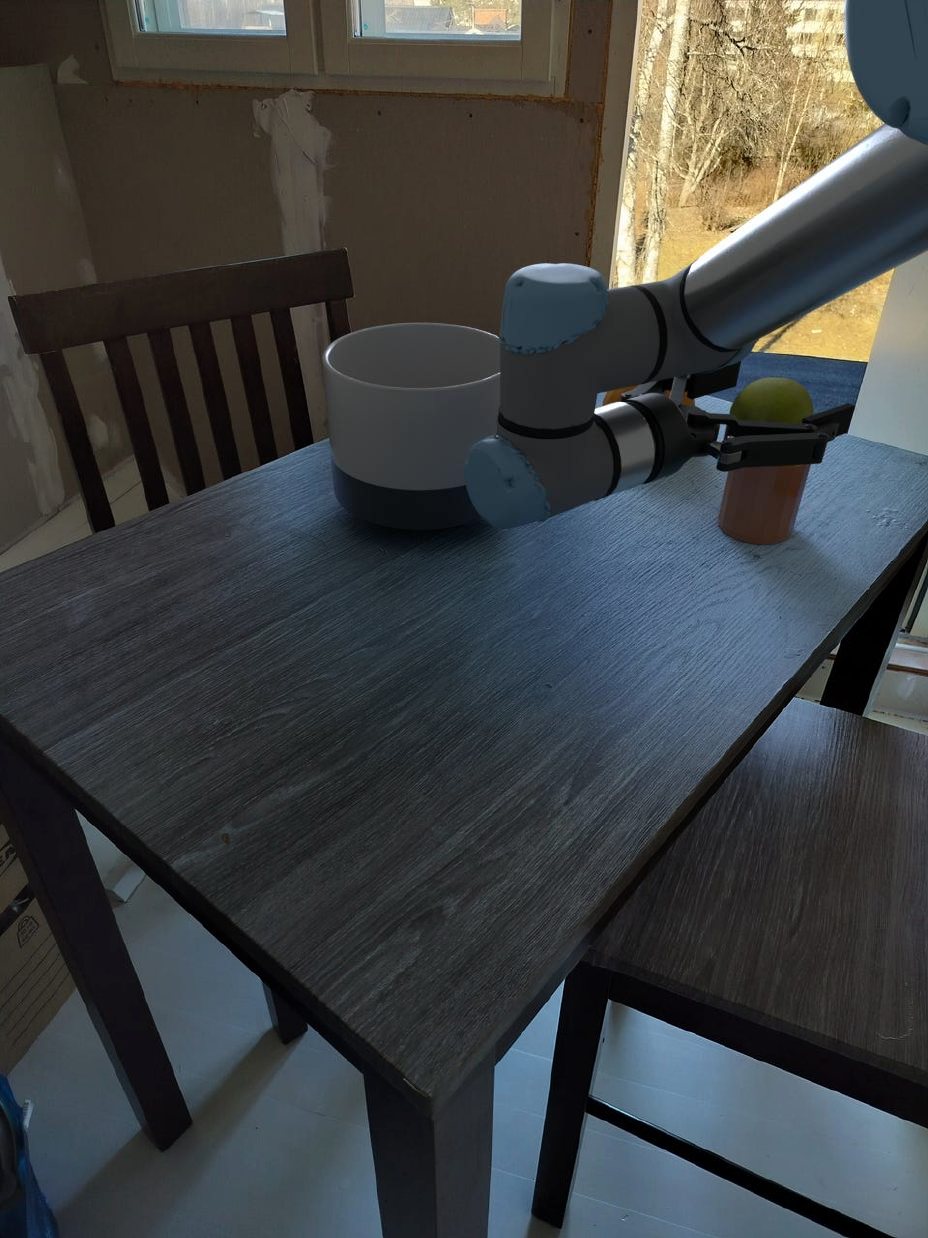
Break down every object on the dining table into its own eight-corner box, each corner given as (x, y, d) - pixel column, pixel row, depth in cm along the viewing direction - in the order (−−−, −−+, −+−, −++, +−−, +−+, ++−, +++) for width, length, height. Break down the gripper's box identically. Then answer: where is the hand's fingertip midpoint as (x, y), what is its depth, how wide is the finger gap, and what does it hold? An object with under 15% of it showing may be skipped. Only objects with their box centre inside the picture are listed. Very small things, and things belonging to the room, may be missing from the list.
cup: (803, 524, 93) (825, 449, 88) (771, 552, 88) (792, 474, 83) (738, 501, 97) (755, 427, 92) (704, 526, 93) (720, 450, 87)
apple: (716, 472, 88) (709, 399, 83) (754, 431, 93) (750, 361, 88) (791, 480, 83) (788, 404, 78) (827, 437, 88) (826, 363, 83)
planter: (525, 549, 88) (535, 384, 78) (338, 561, 86) (323, 394, 76) (493, 465, 104) (498, 318, 93) (334, 474, 101) (320, 324, 91)
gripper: (538, 433, 85) (689, 389, 94) (729, 544, 68) (889, 477, 78) (543, 359, 80) (701, 321, 90) (749, 458, 64) (916, 399, 73)
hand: (789, 394), depth 84 cm, fingers open, 13 cm apart
